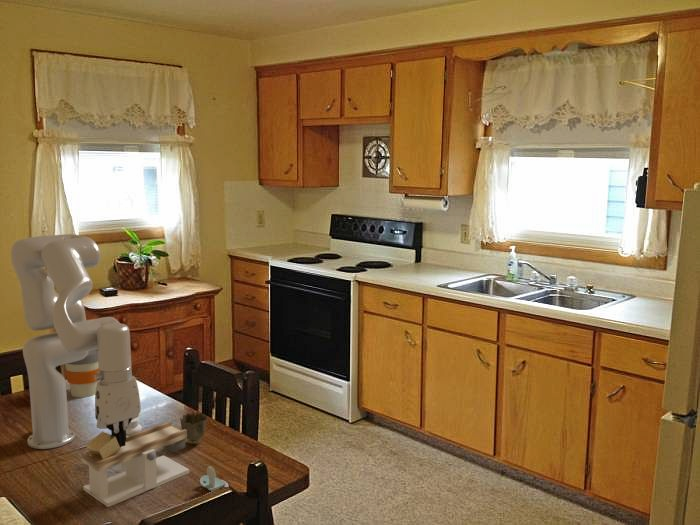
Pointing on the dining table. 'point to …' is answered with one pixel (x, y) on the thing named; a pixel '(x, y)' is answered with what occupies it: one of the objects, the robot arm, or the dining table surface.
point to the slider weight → (103, 446)
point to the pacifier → (212, 480)
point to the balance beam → (141, 445)
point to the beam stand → (133, 478)
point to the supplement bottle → (133, 427)
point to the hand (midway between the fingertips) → (119, 445)
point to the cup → (194, 427)
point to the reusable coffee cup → (83, 375)
